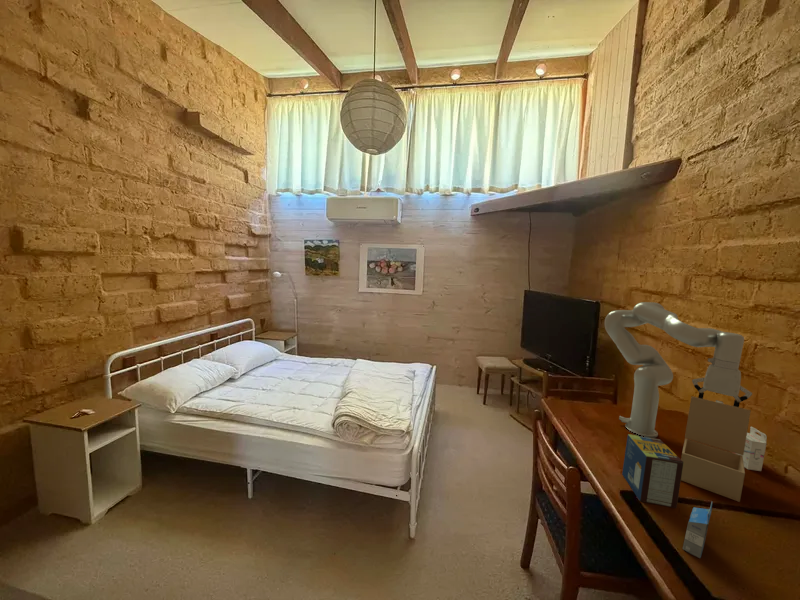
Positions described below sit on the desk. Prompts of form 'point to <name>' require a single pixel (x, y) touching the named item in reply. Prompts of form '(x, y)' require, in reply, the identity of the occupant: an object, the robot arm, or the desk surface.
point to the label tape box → (697, 531)
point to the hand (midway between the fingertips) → (717, 406)
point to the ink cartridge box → (754, 450)
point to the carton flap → (717, 424)
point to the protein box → (652, 470)
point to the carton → (713, 469)
